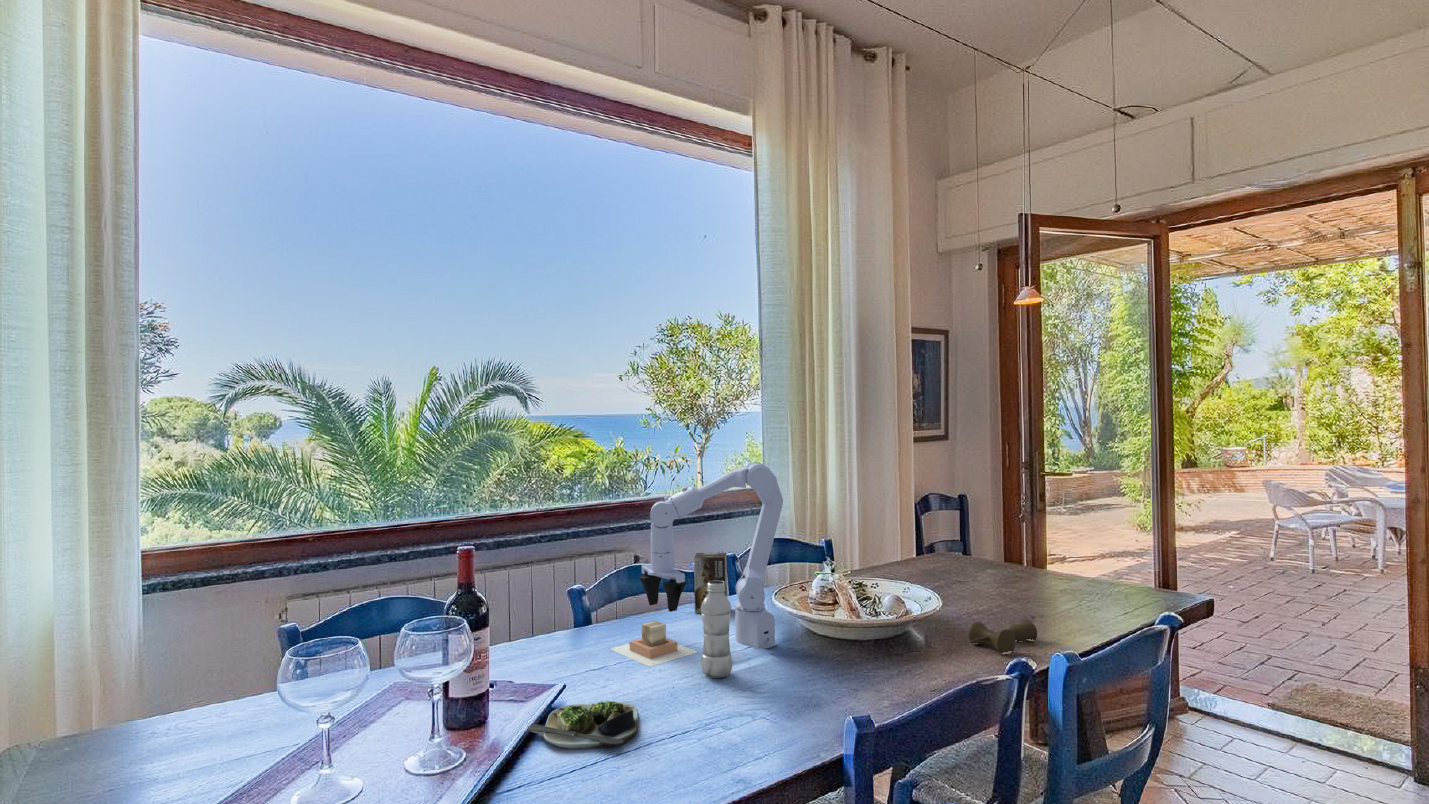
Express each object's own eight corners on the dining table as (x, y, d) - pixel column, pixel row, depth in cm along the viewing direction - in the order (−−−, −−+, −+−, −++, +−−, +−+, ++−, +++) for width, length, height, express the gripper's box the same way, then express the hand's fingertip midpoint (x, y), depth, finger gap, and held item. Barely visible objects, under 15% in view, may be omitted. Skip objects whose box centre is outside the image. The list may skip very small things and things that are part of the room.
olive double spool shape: (1047, 648, 167) (989, 659, 158) (1013, 638, 176) (956, 648, 166) (1046, 623, 168) (988, 633, 158) (1013, 614, 176) (956, 623, 167)
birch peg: (666, 650, 163) (665, 624, 163) (652, 654, 160) (652, 628, 160) (655, 646, 166) (655, 620, 166) (642, 649, 163) (641, 624, 163)
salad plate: (519, 760, 114) (519, 731, 114) (536, 713, 132) (536, 689, 132) (638, 753, 116) (637, 725, 116) (638, 708, 134) (638, 684, 134)
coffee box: (728, 608, 202) (727, 552, 202) (726, 614, 195) (725, 556, 196) (696, 607, 203) (696, 552, 203) (694, 613, 196) (693, 556, 196)
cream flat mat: (698, 656, 162) (698, 651, 162) (649, 671, 152) (649, 666, 152) (656, 639, 173) (656, 635, 174) (609, 652, 164) (609, 648, 164)
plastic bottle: (729, 682, 145) (729, 586, 146) (698, 680, 147) (697, 585, 147) (735, 671, 152) (734, 579, 152) (704, 669, 153) (704, 578, 154)
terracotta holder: (677, 650, 163) (677, 641, 163) (649, 658, 157) (649, 649, 157) (656, 642, 169) (656, 634, 169) (629, 650, 163) (629, 641, 163)
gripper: (631, 549, 172) (631, 604, 172) (668, 558, 161) (668, 616, 161) (654, 545, 177) (654, 599, 176) (691, 553, 166) (691, 610, 166)
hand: (662, 607), depth 169 cm, fingers open, 7 cm apart
